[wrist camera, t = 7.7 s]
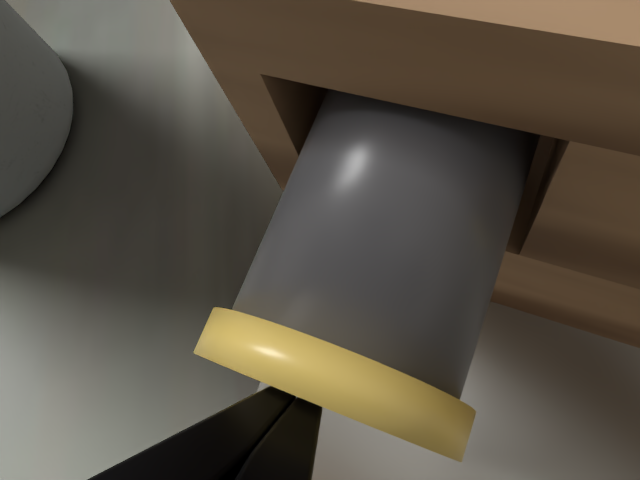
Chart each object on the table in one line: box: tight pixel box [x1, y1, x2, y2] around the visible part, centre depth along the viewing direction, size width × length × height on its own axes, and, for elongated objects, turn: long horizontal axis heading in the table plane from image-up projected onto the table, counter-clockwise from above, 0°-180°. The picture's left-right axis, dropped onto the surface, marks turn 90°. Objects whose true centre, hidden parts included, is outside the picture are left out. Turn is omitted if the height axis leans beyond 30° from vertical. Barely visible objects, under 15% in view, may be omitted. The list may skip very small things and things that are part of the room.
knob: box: [193, 89, 540, 462], centre depth 10 cm, size 8×5×5 cm, turn 158°
